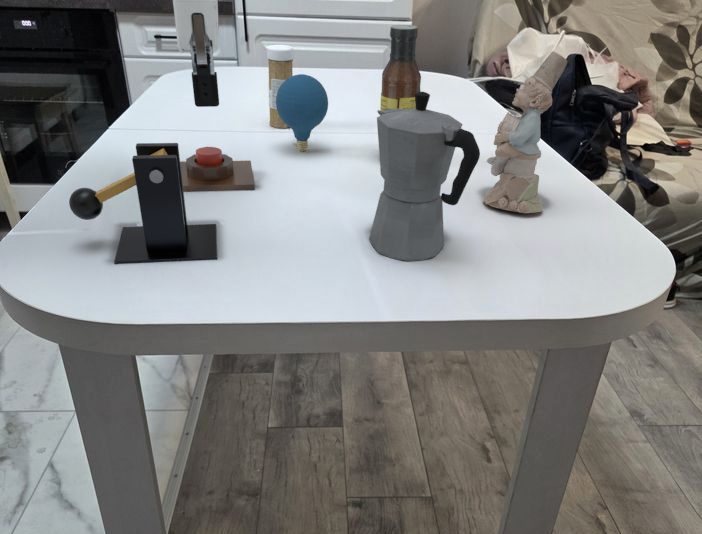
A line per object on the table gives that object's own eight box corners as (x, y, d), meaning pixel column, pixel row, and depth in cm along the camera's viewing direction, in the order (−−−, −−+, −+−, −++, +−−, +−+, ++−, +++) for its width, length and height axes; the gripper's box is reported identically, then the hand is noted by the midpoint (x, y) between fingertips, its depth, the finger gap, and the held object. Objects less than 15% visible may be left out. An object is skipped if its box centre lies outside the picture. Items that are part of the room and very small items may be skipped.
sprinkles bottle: (273, 120, 118) (271, 43, 110) (296, 123, 117) (296, 45, 109) (265, 127, 114) (263, 47, 106) (289, 130, 114) (289, 49, 106)
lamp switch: (115, 271, 68) (95, 165, 61) (124, 235, 75) (106, 137, 69) (217, 266, 70) (208, 163, 63) (216, 232, 77) (208, 136, 71)
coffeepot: (343, 234, 79) (349, 83, 68) (398, 217, 84) (411, 74, 73) (429, 284, 69) (452, 118, 59) (485, 262, 74) (515, 105, 64)
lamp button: (196, 167, 87) (195, 155, 86) (196, 159, 90) (195, 146, 89) (222, 167, 87) (221, 154, 86) (222, 158, 90) (221, 146, 89)
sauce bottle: (418, 156, 105) (432, 25, 93) (412, 168, 100) (427, 31, 88) (380, 151, 106) (389, 21, 94) (372, 163, 101) (381, 27, 89)
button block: (167, 198, 85) (163, 173, 83) (170, 172, 93) (167, 149, 91) (255, 196, 87) (254, 171, 85) (251, 171, 95) (250, 148, 93)
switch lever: (80, 229, 68) (59, 203, 66) (85, 217, 70) (65, 191, 68) (177, 180, 67) (159, 152, 65) (178, 169, 69) (161, 142, 67)
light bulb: (291, 162, 99) (290, 83, 92) (268, 147, 105) (266, 71, 98) (336, 155, 103) (338, 78, 96) (311, 141, 109) (312, 67, 102)
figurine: (541, 198, 92) (575, 50, 80) (543, 220, 85) (581, 63, 74) (480, 191, 93) (506, 44, 82) (478, 212, 86) (505, 56, 75)
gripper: (161, -62, 79) (180, 91, 89) (154, -53, 67) (176, 121, 78) (222, -60, 80) (233, 90, 91) (225, -52, 68) (237, 120, 79)
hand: (207, 104), depth 84 cm, fingers closed
